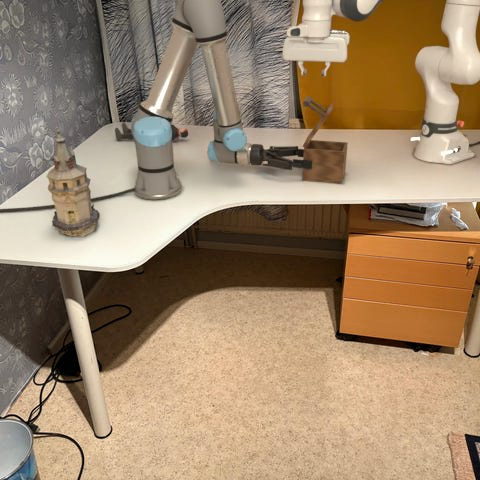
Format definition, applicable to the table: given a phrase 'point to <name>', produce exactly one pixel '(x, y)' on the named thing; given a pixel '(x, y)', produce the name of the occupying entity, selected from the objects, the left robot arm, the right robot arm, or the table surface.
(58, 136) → the miniature building
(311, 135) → the lid
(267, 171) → the table surface
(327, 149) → the chest
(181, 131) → the toy
